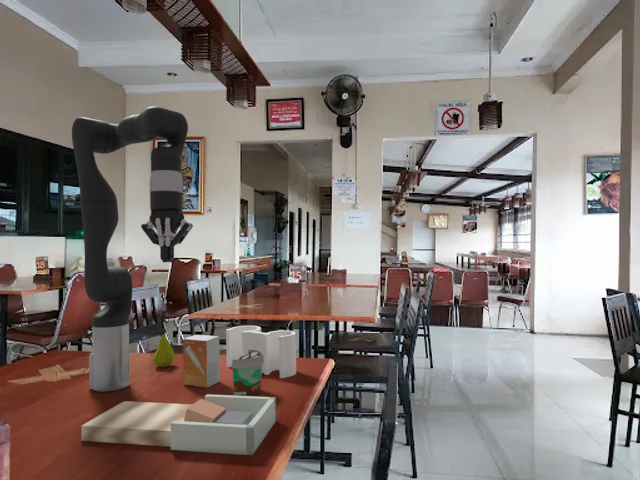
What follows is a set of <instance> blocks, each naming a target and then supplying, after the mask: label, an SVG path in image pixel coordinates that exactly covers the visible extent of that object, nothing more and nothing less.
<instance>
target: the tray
mask: <svg viewBox="0 0 640 480" xmlns="http://www.w3.org/2000/svg"><path fill="white" fill-rule="evenodd" d="M204 400H206V401H209V402H211V403H214V404H216V405H219V406H222V407H224V408H226V411H237V412H251V413H252V421H251V422H250V423H249V424H248V425H239V424H221V423H203V422H186V421H173V422H172V423H171V447H170V450H171V451H183V452H184V451H185V452H199V453H213V454H229V455H241V456H243V455H244V456H253V455H254V454H255V452H256V451H257V449H258V448H259V446H260V445H261V444H262V442H263V440H264V439H265V437H266V436H267V435H268V433H269V432H270V430H271V429H272V428H273V426H274V424H276V422H277V397H273V396H270V397H269V396H234V395H229V394H228V395H227V394H206V395H204Z"/></svg>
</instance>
